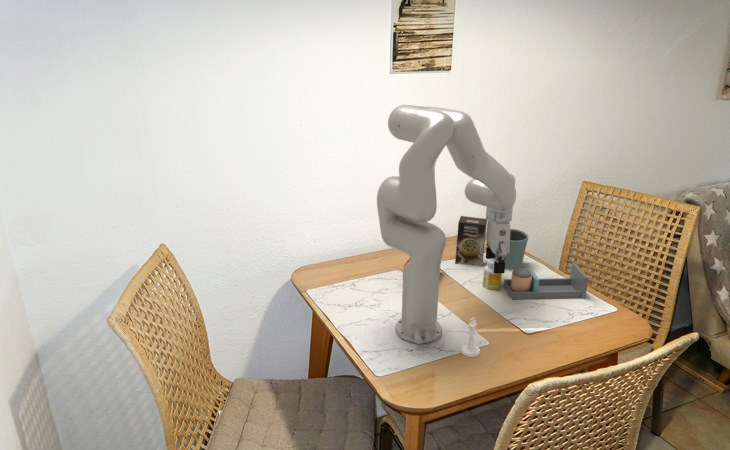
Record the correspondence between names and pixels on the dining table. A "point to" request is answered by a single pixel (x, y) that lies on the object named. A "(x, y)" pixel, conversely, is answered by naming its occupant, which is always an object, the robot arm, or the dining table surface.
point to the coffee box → (470, 241)
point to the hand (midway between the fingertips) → (494, 265)
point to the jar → (521, 280)
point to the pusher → (534, 282)
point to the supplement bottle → (491, 276)
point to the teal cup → (516, 249)
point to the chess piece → (471, 342)
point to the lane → (555, 287)
